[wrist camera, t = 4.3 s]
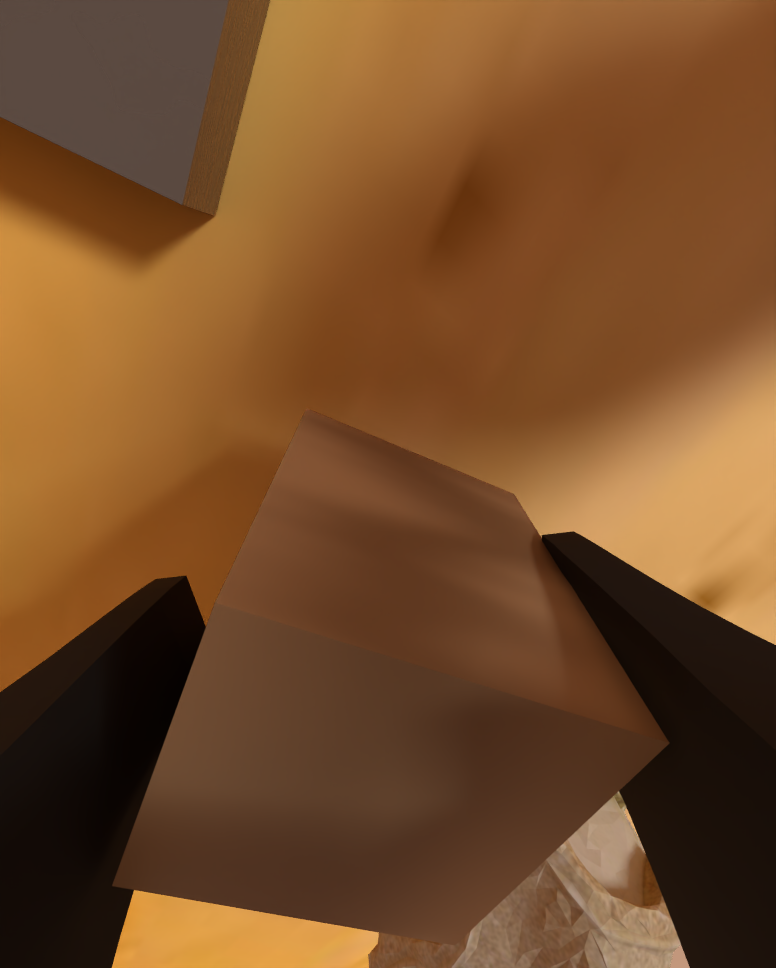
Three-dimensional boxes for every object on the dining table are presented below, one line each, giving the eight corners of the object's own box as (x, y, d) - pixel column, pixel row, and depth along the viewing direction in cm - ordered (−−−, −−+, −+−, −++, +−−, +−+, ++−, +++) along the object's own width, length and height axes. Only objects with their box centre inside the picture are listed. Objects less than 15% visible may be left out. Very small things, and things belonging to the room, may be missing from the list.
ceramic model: (487, 637, 16) (628, 1087, 7) (688, 743, 19) (964, 1157, 10) (296, 830, 21) (240, 1248, 12) (481, 892, 24) (546, 1264, 15)
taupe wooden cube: (514, 494, 10) (669, 742, 5) (418, 646, 12) (454, 945, 7) (306, 408, 9) (214, 603, 4) (237, 588, 11) (111, 885, 6)
